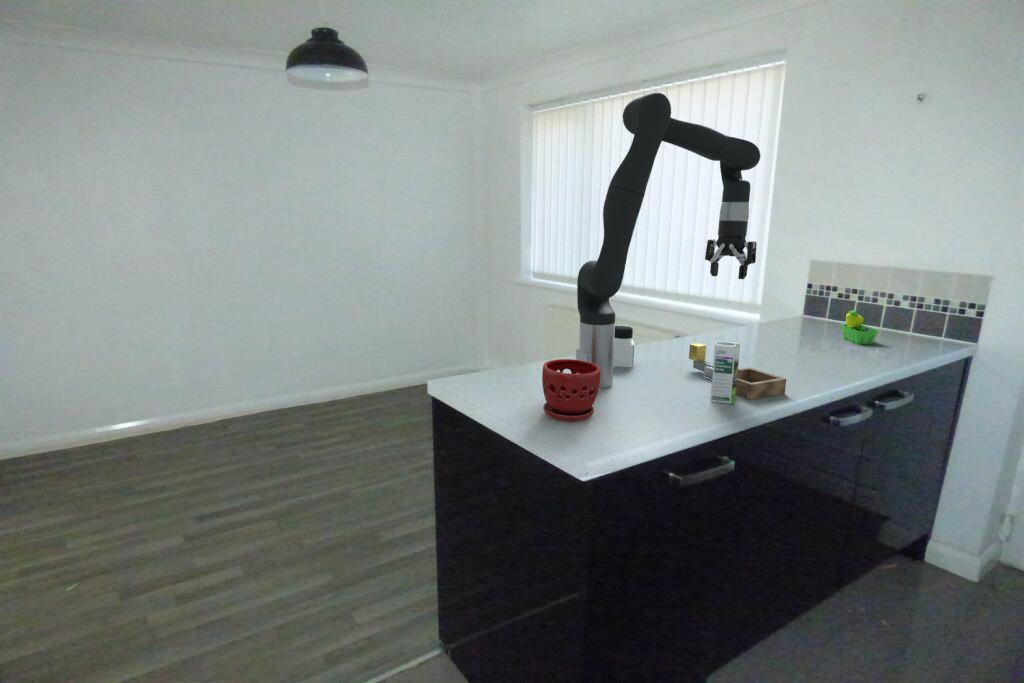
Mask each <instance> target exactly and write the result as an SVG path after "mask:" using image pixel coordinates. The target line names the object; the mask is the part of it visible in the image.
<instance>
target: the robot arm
mask: <svg viewBox="0 0 1024 683" xmlns="http://www.w3.org/2000/svg"><path fill="white" fill-rule="evenodd" d="M622 123H623V126H624V127H625V129H626V130H627V131H628V132H629V133H631V134H632V135H633V139H632V142H631V145H630V147H629V150H628V151H627V153H626V155H625V156H624V158H623V160H622V161H621V163H620V164H619V166H618V167H617V169H616V170H615V172H614V174H613V176H612V178H611V180H610V182H609V185H608V188H607V191H606V196H605V198H604V203H603V206H602V208H603V210H602V220H603V223H602V224H603V238H602V239H603V242H602V244H601V245H602V246H601V249H600V251H599V252H600V253H599V255H598V258H597V260H596V259H595V260H593V259H592V260H589V261H587V262H585V263H584V264H583V265H582V266H581V267H580V269H579V271H578V275H577V284H576V286H577V287H576V289H577V291H576V292H577V294H576V295H577V300H576V302H577V311H578V313H579V341H578V342H579V347H578V348H576V350H575V360H581V361H586V362H590V363H593V364H595V365H597V366H599V367H600V369H601V376H600V385H599V390H600V389H607V388H610V387H612V386H613V384H614V383H613V381H614V367H613V360H614V335H615V326H616V312H615V310H614V308H613V307H612V306H611V302H610V298H612V297H614V296H615V295H616V294H617V293H618V291H619V290H620V288H621V286H622V283H623V279H624V276H625V269H626V263H627V260H628V253H629V248H630V246H631V243H632V242H631V241H632V239H633V236H634V235H633V234H634V231H635V227H636V224H637V221H638V218H639V214H640V212H641V210H642V209H641V208H642V205H643V201H644V200H645V199H644V198H645V195H646V190H647V186H648V183H649V181H650V177H651V174H652V170H653V168H654V164H655V160H656V156H657V154H658V151H659V148H660V147H661V144H662V142H664V143H667V144H671V145H672V146H676V147H679V148H682V149H684V150H687V151H690V152H691V153H693V154H696V155H698V156H700V157H702V158H705V159H706V160H710V161H715V162H719V169H720V176H721V184H722V186H723V187H722V196H721V205H720V209H719V210H720V211H719V219H718V229H717V236H718V238H717V239H712V238H711V239H707V241H706V242H707V243H706V249H705V254H704V255H705V256H704V260H705V261H709V263H710V271H709V272H710V273H709V274H710V276H712V277H718V275H719V264H720V263H719V262H720V261H721V259H722V258H723V257H735V259H736V260H737V261H738V262H739V264H740V265H739V268H738V277H737V278H738V280H745V279H746V278H747V275H748V267H749V265H752V264H755V263H756V260H757V259H756V258H757V245H758V242H757V241H747V240H746V237H747V234H748V225H749V224H748V223H749V218H750V216H749V215H750V206H749V205H750V199H751V198H750V196H751V183H750V181H748V180H745V179H743V177H742V176H743V175H742V171H749V170H751V169H753V168H755V167H756V166H757V165H758V164H759V163H760V160H761V151H760V149H759V147H758V146H757V145H756V144H755V143H753V142H752V141H750V140H747V139H742V138H739V137H734V136H729V135H726V134H724V133H722V132H719V131H718V130H716V129H714V128H711V127H708V126H707V125H703V124H700V123H696V122H695V123H694V122H690V121H685V120H680V119H677V118H673V117H672V105H671V102H670V100H669V98H668V96H666V95H665V94H664V93H662V92H652V93H651V92H650V93H647V94H645V95H642V96H640V97H636V98H634V99H632V100H631V101H630V102H628V103H627V104H626V106H625V107H624V110H623V112H622ZM716 247H717V249H716ZM745 248H746V250H747V252H745ZM715 249H716V251H715ZM576 374H579V373H576ZM592 389H594V387H592Z"/></svg>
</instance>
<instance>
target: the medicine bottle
mask: <svg viewBox="0 0 1024 683" xmlns="http://www.w3.org/2000/svg"><path fill="white" fill-rule="evenodd" d="M633 330H634V328H633V327H631V325H630V326H629V325H625V324H624V325H623V324H622V325H620V324H618V325H615V335H614V360H613V368H625V367H630V368H629V369H632V368H631V367H634V358H635V357H634V356H635V355H634V354H635V342H634V340H633V336H634V334H633V333H634V332H633Z"/></svg>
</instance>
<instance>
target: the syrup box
mask: <svg viewBox="0 0 1024 683" xmlns="http://www.w3.org/2000/svg"><path fill="white" fill-rule="evenodd" d="M740 345H741V343H740V342H731V341H719V340H717V341H715V344H714V349H713V350H714V351H713V353H714V354H713V362H712V363H713V377H712V380H711V390H710V399H709V400H710V402H711V401H714V402H713V403H719V402H721V403H722V404H727V403H728V405H735V404H736V396H737V395H736V386H737V375H738V369H739V363H740V362H739V361H740V360H739V359H740V352H741V346H740Z"/></svg>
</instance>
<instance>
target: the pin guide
mask: <svg viewBox="0 0 1024 683" xmlns="http://www.w3.org/2000/svg"><path fill="white" fill-rule="evenodd" d="M703 372H704V374H703V377H704V376H705V377H708V378H710V379H712V377H713V368H712V367H709V366H705V369H704V371H703ZM710 379H709V380H710Z"/></svg>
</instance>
